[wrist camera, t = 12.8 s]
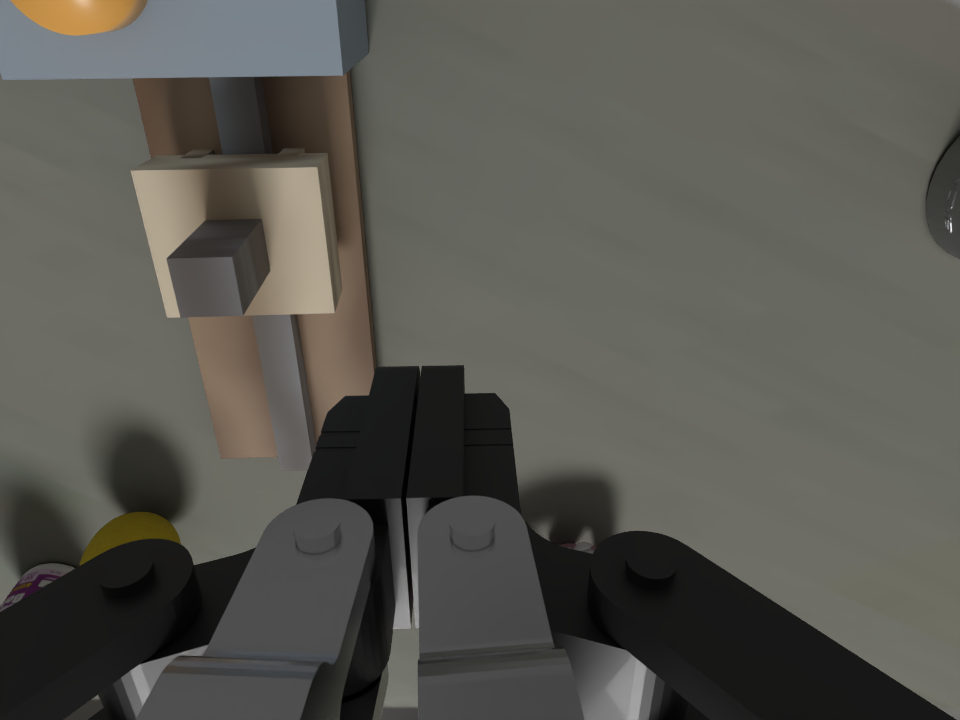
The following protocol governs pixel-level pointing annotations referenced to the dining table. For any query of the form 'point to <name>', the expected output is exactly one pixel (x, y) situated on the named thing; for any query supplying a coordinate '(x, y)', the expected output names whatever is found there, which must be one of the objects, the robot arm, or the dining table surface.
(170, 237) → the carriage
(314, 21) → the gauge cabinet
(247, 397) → the rail
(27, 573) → the pill bottle
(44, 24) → the button
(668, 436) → the dining table surface
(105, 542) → the lemon
